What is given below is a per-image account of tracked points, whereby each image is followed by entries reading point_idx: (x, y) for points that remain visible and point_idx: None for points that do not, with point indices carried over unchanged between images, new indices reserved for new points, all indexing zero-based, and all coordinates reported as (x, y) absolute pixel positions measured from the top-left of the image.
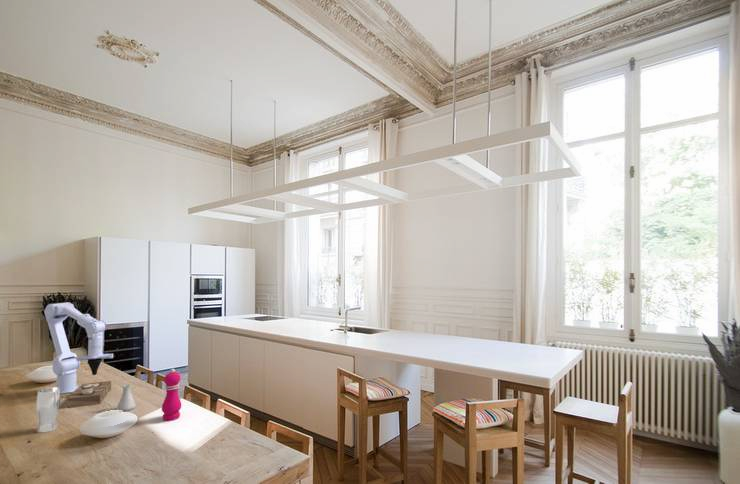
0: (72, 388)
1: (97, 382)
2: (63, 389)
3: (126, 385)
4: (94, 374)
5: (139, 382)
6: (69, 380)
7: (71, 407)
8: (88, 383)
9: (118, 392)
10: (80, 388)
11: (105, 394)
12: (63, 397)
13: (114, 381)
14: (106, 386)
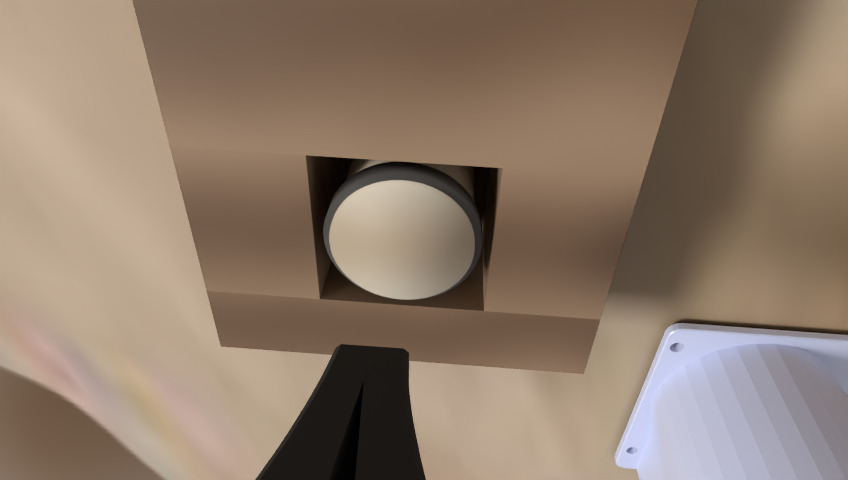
0: (680, 387)
1: None
2: (786, 370)
3: None
4: (359, 353)
5: (27, 357)
6: (761, 475)
7: None
8: (507, 363)
9: (81, 79)
10: (600, 168)
11: None
12: (783, 186)
13: None
14: (162, 85)
